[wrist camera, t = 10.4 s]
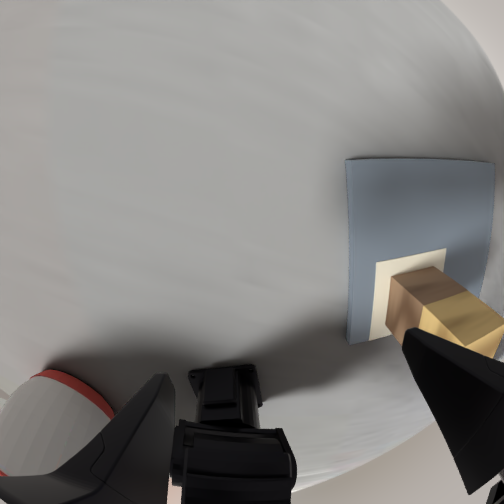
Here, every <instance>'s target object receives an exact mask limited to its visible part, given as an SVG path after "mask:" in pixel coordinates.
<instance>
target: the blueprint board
mask: <svg viewBox="0 0 504 504" xmlns="http://www.w3.org/2000/svg"><path fill="white" fill-rule="evenodd" d="M345 165H346V178H347V193H348V213H349V297H348V317H347V332H346V340H347V342H348V344H349V345H353V344H357V343H361V342H364V341H368V340H369V341H371V340H374V339H378V338H381V337H385V336H388V335H391V334H392V333H391V332H390V330H389V329H388V328H387V327H386V325H385V320H386V314H387V306H388V298H389V290H390V280H391V276H394V275H398V274H403V273H407V272H411V271H416V270H420V269H424V268H428V267H432V266H434V267H436V268H437V269H439V270H440V271H442V272H443V273H445V274H446V275H447V276H449V277H450V278H452V279H453V280H455V281H456V282H457V283H459V284H460V285H462V286H463V287H464V288H466V289H467V290H468V291H469V292H470V293H472V294H473V295H474V296H476V297H477V298H478V299H479V295H480V291H481V287H482V283H483V278H484V274H485V269H486V264H487V258H488V252H489V246H490V239H491V231H492V222H493V210H494V192H495V163H489V162H479V161H467V160H450V159H421V158H383V159H353V160H345Z"/></svg>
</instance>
